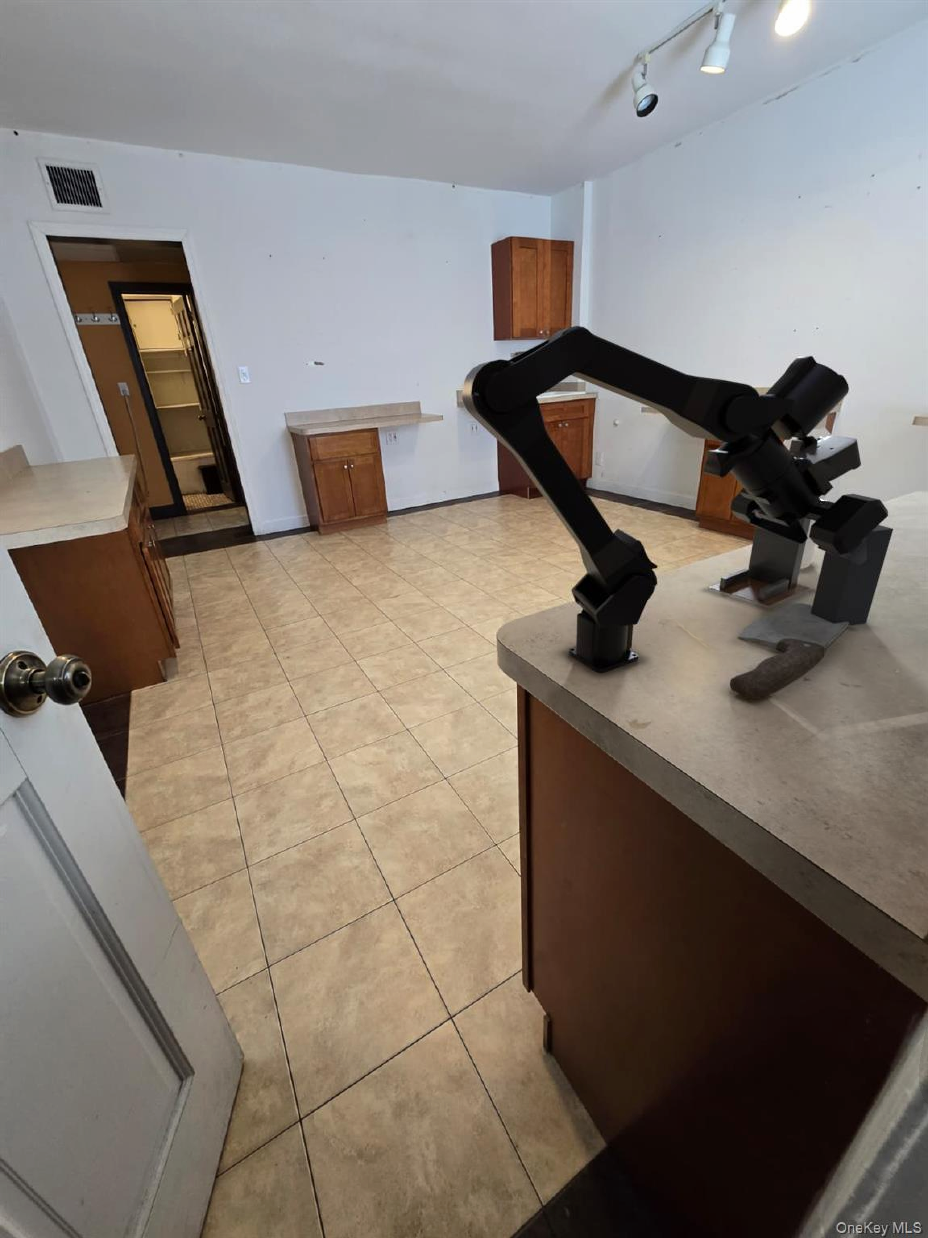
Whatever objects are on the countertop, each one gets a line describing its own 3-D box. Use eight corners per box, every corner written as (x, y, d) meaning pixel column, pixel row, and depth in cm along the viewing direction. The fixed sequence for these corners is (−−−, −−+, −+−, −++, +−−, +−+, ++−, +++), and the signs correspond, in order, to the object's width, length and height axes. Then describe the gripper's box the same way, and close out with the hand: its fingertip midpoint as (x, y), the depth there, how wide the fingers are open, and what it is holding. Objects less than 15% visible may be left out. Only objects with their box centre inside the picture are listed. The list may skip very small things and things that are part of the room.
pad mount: (768, 609, 75) (786, 518, 70) (707, 590, 83) (719, 507, 78) (809, 590, 80) (828, 504, 75) (748, 574, 88) (761, 495, 83)
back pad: (832, 628, 68) (857, 533, 62) (809, 616, 72) (831, 525, 66) (866, 623, 68) (893, 528, 63) (841, 611, 72) (865, 521, 67)
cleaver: (779, 712, 53) (783, 695, 52) (687, 680, 60) (689, 664, 59) (856, 620, 71) (860, 606, 70) (778, 603, 77) (781, 590, 77)
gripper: (897, 417, 49) (960, 518, 55) (765, 410, 66) (824, 488, 72) (806, 508, 52) (875, 595, 57) (700, 479, 68) (763, 548, 74)
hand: (831, 550), depth 65 cm, fingers open, 9 cm apart
